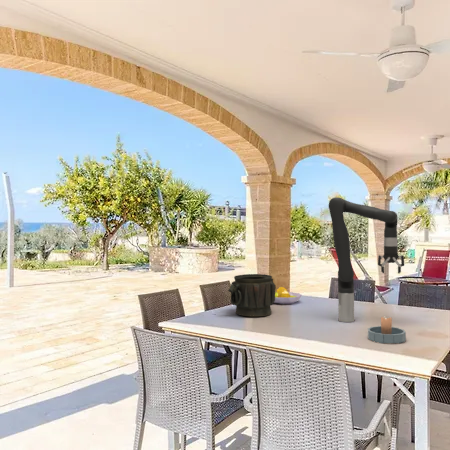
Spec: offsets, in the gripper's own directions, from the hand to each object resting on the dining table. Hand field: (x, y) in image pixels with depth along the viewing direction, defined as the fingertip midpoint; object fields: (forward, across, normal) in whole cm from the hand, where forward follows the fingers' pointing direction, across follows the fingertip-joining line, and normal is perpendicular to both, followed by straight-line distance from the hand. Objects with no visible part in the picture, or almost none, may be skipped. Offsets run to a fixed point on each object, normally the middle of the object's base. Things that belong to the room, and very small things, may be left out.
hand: (391, 273), depth 262 cm
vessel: (+30, -84, +20) cm, 92 cm away
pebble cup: (+29, -7, -32) cm, 44 cm away
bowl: (+30, -7, -32) cm, 44 cm away
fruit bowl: (+30, -69, +64) cm, 99 cm away
